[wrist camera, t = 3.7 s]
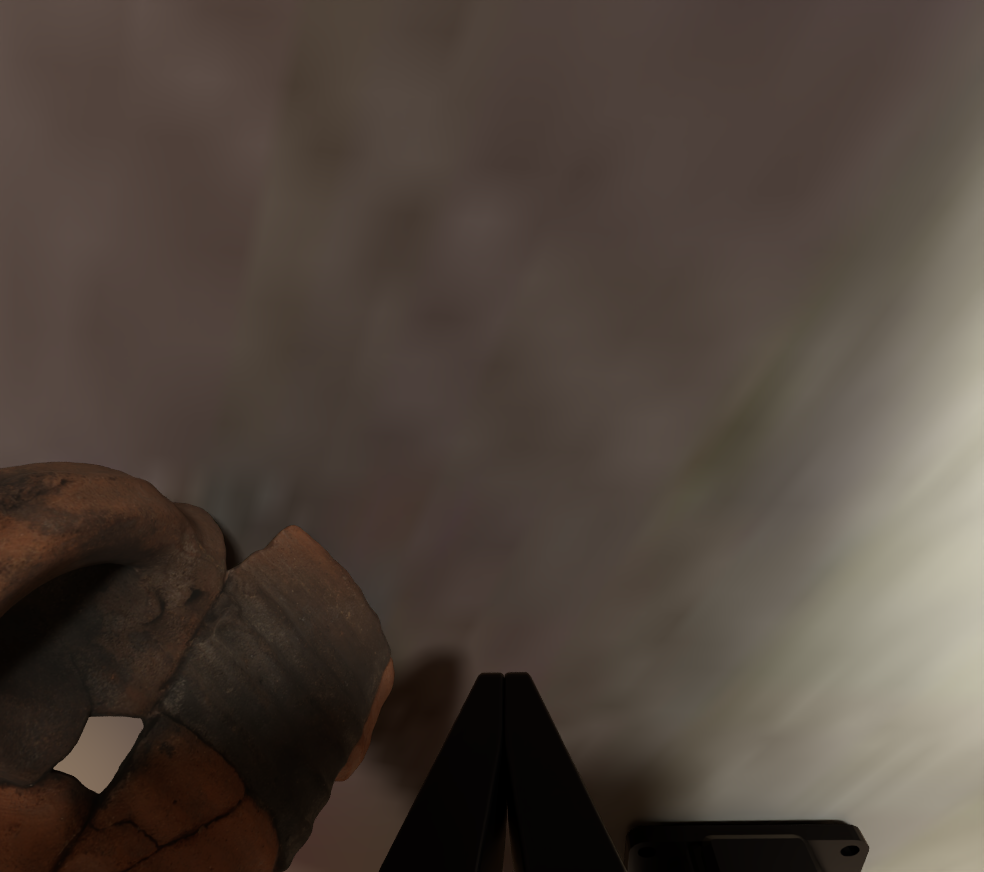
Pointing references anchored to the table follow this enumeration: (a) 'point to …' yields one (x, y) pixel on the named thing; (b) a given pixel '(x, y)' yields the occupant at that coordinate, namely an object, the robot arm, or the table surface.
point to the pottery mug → (171, 679)
